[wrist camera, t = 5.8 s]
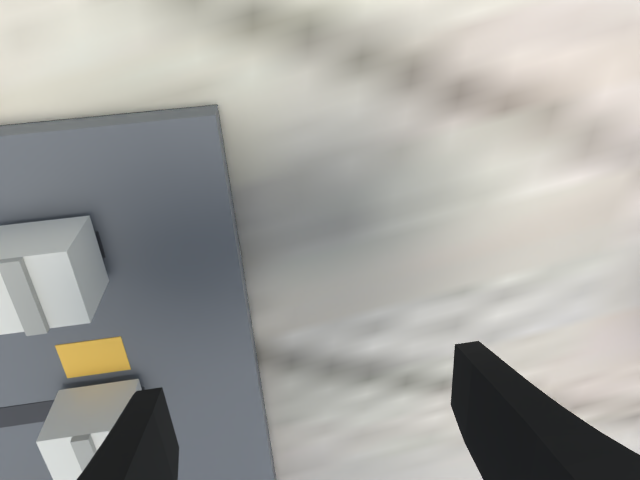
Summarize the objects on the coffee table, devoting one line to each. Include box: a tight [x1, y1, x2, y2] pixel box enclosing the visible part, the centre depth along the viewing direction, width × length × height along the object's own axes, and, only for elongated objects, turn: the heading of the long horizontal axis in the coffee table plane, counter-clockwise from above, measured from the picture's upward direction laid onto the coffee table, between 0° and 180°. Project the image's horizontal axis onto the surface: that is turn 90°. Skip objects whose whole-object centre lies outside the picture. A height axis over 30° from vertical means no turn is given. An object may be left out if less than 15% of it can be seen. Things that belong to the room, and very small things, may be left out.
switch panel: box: [0, 105, 276, 480], centre depth 21 cm, size 22×18×2 cm
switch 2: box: [36, 379, 142, 480], centre depth 19 cm, size 2×3×3 cm
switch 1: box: [0, 215, 109, 336], centre depth 16 cm, size 2×3×3 cm
